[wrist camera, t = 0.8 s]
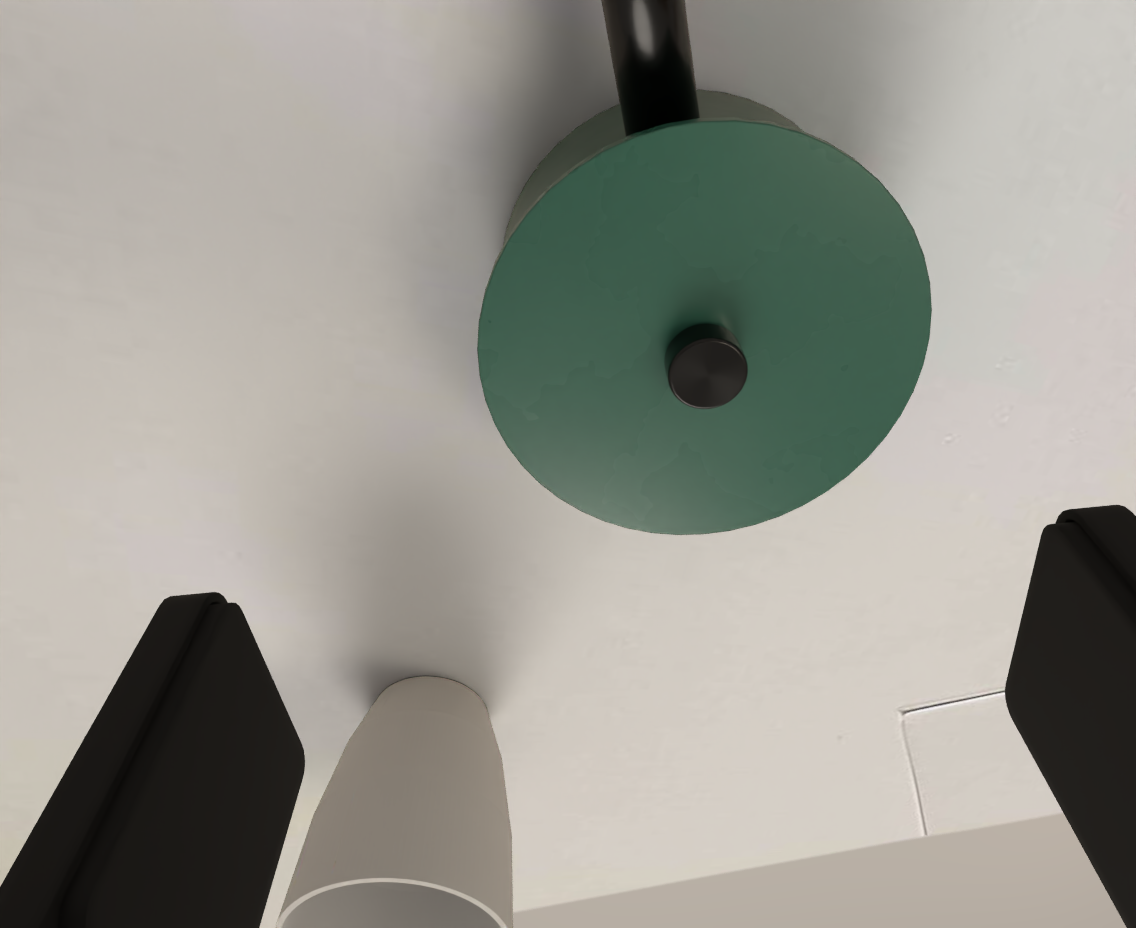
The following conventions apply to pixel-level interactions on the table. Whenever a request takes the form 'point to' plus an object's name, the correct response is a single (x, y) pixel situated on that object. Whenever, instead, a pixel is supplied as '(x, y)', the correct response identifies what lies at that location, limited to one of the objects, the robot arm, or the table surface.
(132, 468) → the table surface
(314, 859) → the cup
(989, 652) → the table surface
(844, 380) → the saucepan
